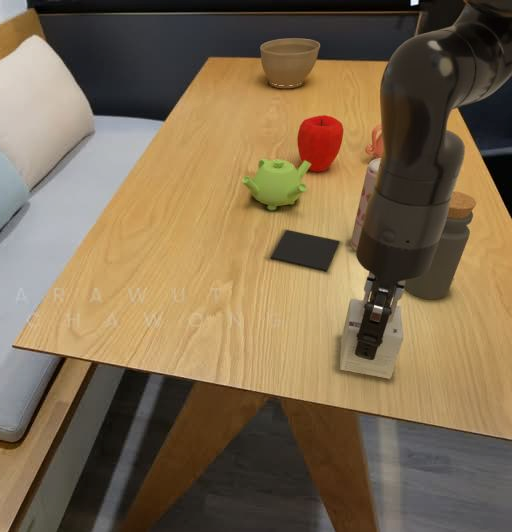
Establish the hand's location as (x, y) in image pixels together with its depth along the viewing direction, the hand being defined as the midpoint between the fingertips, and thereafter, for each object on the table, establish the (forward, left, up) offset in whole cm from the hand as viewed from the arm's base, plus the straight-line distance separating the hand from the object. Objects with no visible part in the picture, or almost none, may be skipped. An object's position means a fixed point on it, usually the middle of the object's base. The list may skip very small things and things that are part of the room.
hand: (369, 337), depth 66 cm
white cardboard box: (0, 0, -4) cm, 4 cm away
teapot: (+22, -35, -4) cm, 41 cm away
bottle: (-5, -18, -4) cm, 20 cm away
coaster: (+13, -21, -4) cm, 25 cm away
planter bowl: (+40, -103, -4) cm, 111 cm away
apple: (+19, -52, -4) cm, 55 cm away
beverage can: (+4, -26, -4) cm, 27 cm away
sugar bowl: (+4, -60, -4) cm, 60 cm away
